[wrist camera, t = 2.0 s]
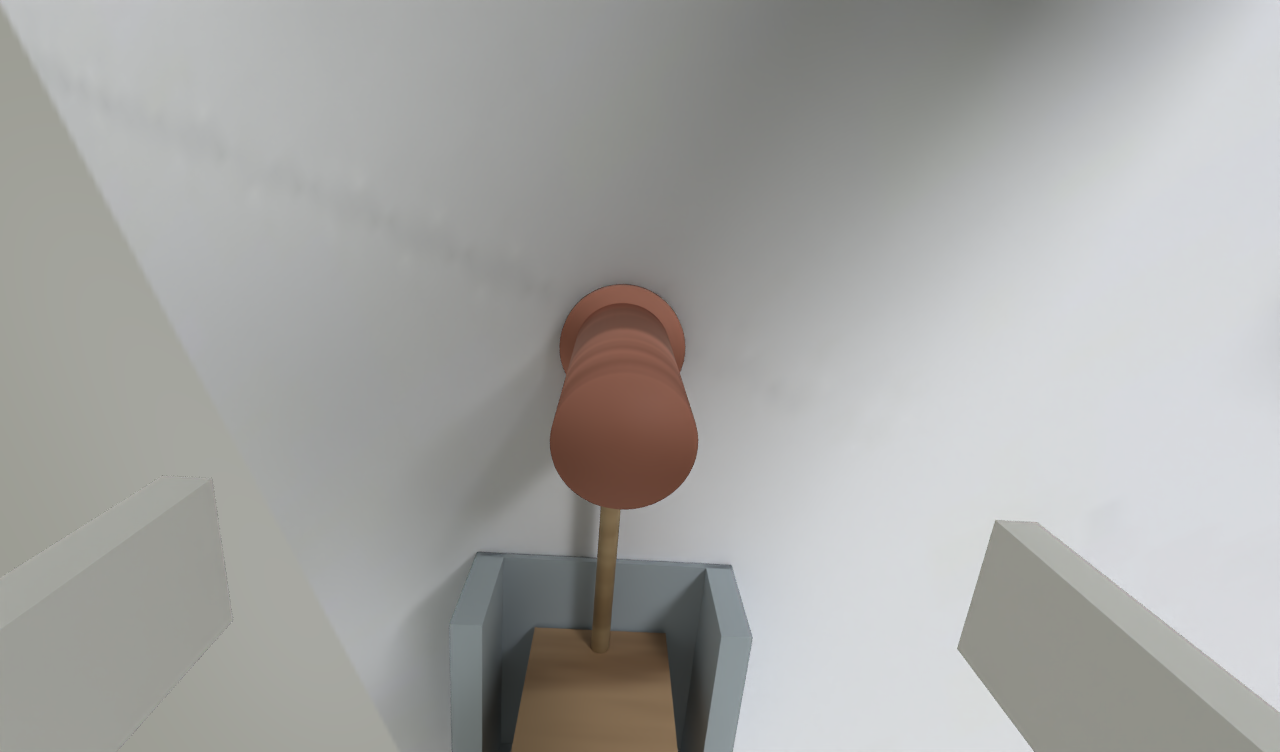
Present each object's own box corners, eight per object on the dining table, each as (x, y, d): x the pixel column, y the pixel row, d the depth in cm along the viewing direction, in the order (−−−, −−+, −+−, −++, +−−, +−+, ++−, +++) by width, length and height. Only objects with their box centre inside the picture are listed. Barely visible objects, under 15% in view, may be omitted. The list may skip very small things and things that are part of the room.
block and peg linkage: (547, 278, 22) (500, 339, 13) (705, 290, 22) (760, 358, 14) (531, 724, 29) (493, 959, 20) (653, 728, 29) (668, 961, 20)
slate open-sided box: (477, 551, 26) (449, 624, 22) (731, 564, 27) (752, 637, 22) (477, 755, 30) (453, 850, 25) (700, 762, 30) (714, 857, 26)
